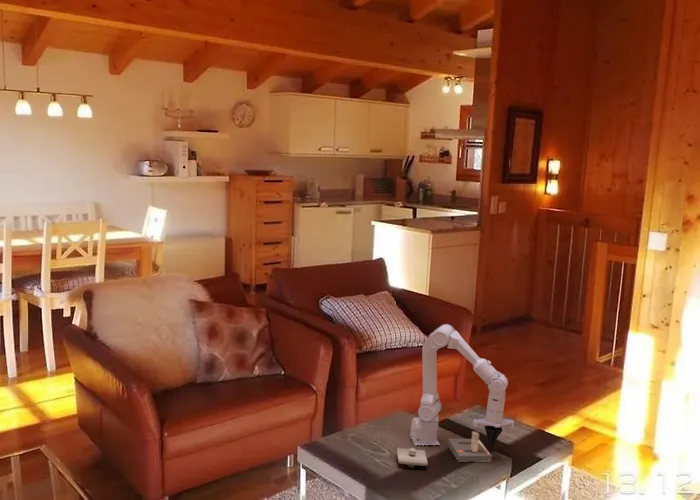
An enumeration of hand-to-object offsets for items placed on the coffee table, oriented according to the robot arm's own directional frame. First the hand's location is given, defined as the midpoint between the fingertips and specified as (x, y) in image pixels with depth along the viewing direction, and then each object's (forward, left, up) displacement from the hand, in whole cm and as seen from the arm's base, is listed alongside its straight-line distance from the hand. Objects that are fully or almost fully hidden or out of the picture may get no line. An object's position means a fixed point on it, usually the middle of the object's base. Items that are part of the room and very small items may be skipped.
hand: (490, 445), depth 230 cm
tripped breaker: (-6, 0, -2) cm, 6 cm away
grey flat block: (-7, +3, -5) cm, 9 cm away
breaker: (-4, +6, -2) cm, 7 cm away
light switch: (-30, -3, -5) cm, 30 cm away
